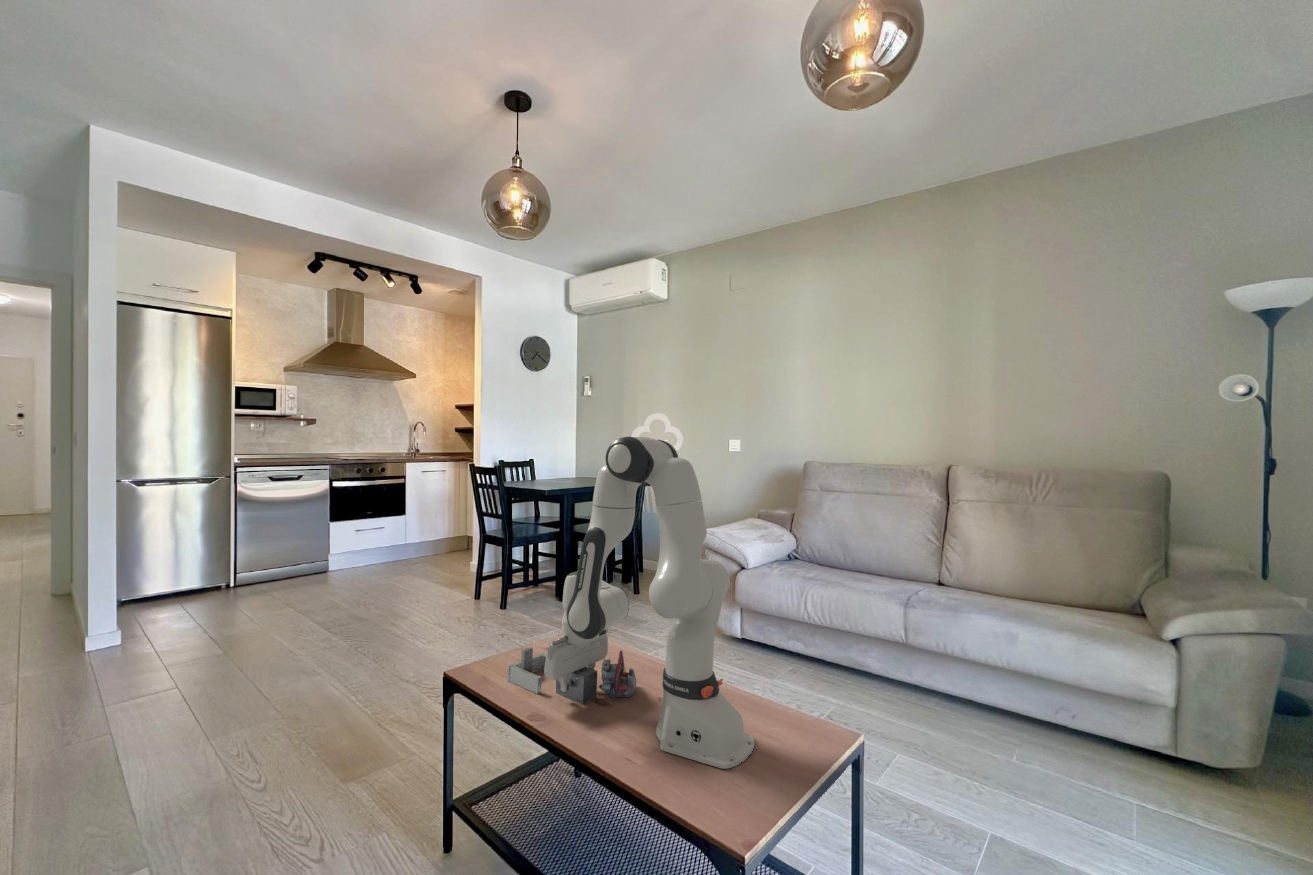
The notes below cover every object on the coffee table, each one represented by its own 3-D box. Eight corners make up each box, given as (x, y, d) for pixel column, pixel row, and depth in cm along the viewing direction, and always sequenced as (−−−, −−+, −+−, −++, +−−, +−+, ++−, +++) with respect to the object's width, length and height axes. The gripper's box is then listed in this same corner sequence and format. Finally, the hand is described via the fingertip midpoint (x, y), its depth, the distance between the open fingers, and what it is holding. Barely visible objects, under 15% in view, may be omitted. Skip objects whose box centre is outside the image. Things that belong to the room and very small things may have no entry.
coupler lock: (596, 697, 137) (597, 667, 137) (582, 704, 133) (583, 673, 133) (569, 686, 143) (570, 657, 143) (555, 693, 139) (556, 663, 139)
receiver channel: (571, 678, 148) (572, 653, 148) (537, 693, 138) (538, 667, 138) (541, 666, 155) (542, 642, 156) (507, 680, 146) (508, 654, 146)
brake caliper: (642, 693, 135) (615, 654, 136) (607, 717, 135) (581, 678, 136) (646, 675, 146) (622, 639, 147) (614, 697, 147) (590, 661, 148)
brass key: (627, 671, 154) (627, 666, 154) (624, 676, 151) (624, 670, 151) (603, 668, 156) (604, 663, 156) (600, 673, 153) (600, 667, 153)
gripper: (557, 645, 128) (554, 702, 128) (612, 625, 145) (610, 676, 144) (539, 639, 132) (537, 695, 132) (595, 620, 149) (594, 669, 148)
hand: (576, 684), depth 138 cm, fingers open, 7 cm apart
